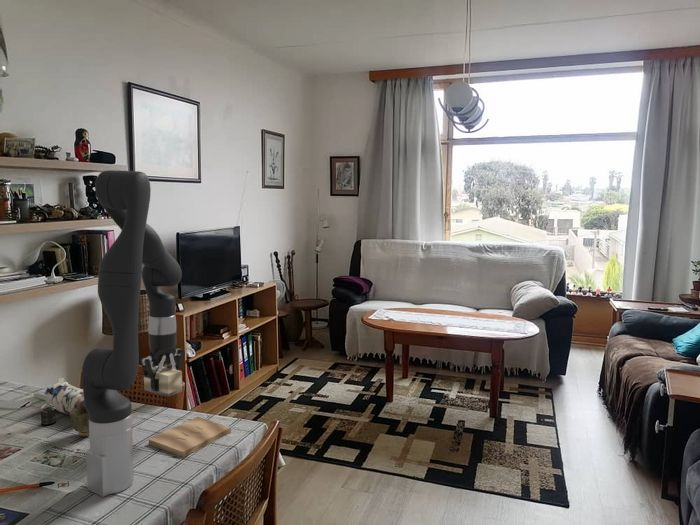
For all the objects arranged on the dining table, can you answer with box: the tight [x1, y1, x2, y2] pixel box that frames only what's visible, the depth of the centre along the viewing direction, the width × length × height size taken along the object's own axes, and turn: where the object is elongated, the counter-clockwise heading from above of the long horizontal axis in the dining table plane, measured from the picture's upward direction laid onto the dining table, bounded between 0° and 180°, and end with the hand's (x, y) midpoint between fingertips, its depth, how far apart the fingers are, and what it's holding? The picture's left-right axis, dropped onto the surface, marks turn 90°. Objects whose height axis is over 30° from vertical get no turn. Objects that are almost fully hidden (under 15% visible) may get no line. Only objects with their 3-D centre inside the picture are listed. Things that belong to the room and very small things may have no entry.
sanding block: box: [143, 365, 183, 397], centre depth 146 cm, size 5×10×6 cm, turn 61°
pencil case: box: [44, 377, 84, 416], centre depth 159 cm, size 22×8×10 cm, turn 62°
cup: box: [69, 404, 89, 438], centre depth 145 cm, size 8×7×8 cm
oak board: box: [148, 416, 232, 458], centre depth 145 cm, size 18×14×2 cm
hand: (163, 387), depth 146 cm, fingers closed on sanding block, 5 cm apart
